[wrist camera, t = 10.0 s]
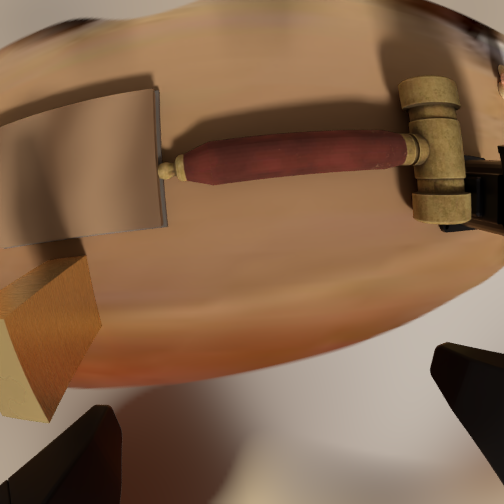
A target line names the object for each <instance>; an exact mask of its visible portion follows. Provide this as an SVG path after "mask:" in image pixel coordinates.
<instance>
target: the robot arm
mask: <svg viewBox="0 0 504 504" xmlns="http://www.w3.org/2000/svg"><path fill="white" fill-rule="evenodd" d="M498 152H499V153H500V158H501V161H495V160H485V159H484V158H480V157H474V156H467V155H464V161H465V173H466V178H464V188H465V192H468V193H471V219H470V220H469V221H468V222H465V223H461V224H440V229H441V231H443V232H456V231H466V230H475V229H479V230H483V231H487V232H491V233H495V234H499V235H502V236H504V145H499V146H498ZM445 225H446V227H445ZM430 373H431V376H432V377H433V379H434V381H435V382H436V384H437V385H438V387H439V389H440V391H441V392H442V394H443V396H444V397H445V399H446V401H447V402H448V404H449V406H450V408H451V409H452V411H453V412H454V414H455V415H456V416H457V418H458V419H459V421H460V422H461V423H462V425H463V426H464V428H465V429H466V430H467V431H468V433H469V434H470V436H471V437H472V439H473V440H474V442H475V443H476V445H477V446H478V447H479V449H480V450H481V452H482V453H483V455H484V456H485V458H486V459H487V461H488V462H489V464H490V465H491V467H492V468H493V470H494V471H495V473H496V474H497V476H498V477H499V479H500V480H501V482H502V483H503V485H504V354H502V353H497V352H492V351H487V350H482V349H477V348H473V347H468V346H463V345H459V344H454V343H450V342H446V343H443V344H441V345H438V346H437V347H436V349H435V351H434V356H433V360H432V363H431V368H430ZM121 486H122V430H121V427H120V425H119V423H118V420H117V418H116V416H115V414H114V411H113V409H112V407H111V406H109V405H94V406H93V407H92V408H91V409H89V410H88V411H87V412H86V413H85V414H84V415H82V416H81V417H80V418H79V419H78V420H77V421H76V422H74V423H73V424H72V425H71V426H70V427H68V428H67V429H66V430H65V431H64V432H63V433H62V434H60V435H59V436H58V437H57V438H56V439H54V440H53V441H52V442H51V443H50V444H49V445H47V446H46V447H45V448H44V449H43V450H42V451H40V452H39V453H38V454H37V455H36V456H34V457H33V458H32V459H31V460H30V461H28V462H27V463H26V464H25V465H24V466H23V467H21V468H20V469H19V470H18V471H17V472H15V473H14V474H13V475H12V476H11V477H10V478H8V480H6V481H4V482H3V483H2V484H1V485H0V504H120V497H121Z"/></svg>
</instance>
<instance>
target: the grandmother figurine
mask: <svg viewBox="0 0 504 504" xmlns="http://www.w3.org/2000/svg"><path fill="white" fill-rule="evenodd" d="M498 71H499V74H500V76H501V82H499V83H498V89H499V93H500V95H501V96H502V98H504V66H503V65H499V66H498Z"/></svg>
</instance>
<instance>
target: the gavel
mask: <svg viewBox="0 0 504 504" xmlns="http://www.w3.org/2000/svg"><path fill="white" fill-rule="evenodd" d="M398 91H399V96H400V101H401V107H402V110H403V111H404V112H408V113H409V117H410V123H409V130H410V134H398V133H393V132H389V131H384V130H337V131H312V132H296V133H282V134H271V135H260V136H250V137H242V138H233V139H225V140H218V141H211V142H207V143H205V144H203V145H201V146H199V147H197V148H195V149H193V150H191V151H189V152H187V153H185V154H182V155H178V156H177V157H176V159H175V162H174V163H169V162H164V163H161V164H160V165H159V166H158V175H159V177H160V178H161V179H169V178H171V177H172V176H177V178H178V179H179V180H180V181H193V182H199V183H204V184H210V185H218V184H226V183H233V182H241V181H249V180H257V179H265V178H274V177H284V176H294V175H304V174H315V173H327V172H341V171H356V170H374V169H387V168H391V167H395V166H399V165H414V173H415V178H416V179H417V184H418V192H413V193H412V201H413V218H414V219H416V220H417V221H419V222H423V223H429V224H461V223H465V222H468V221H469V220H470V219H471V193H468V192H465V188H464V178H466V173H465V161H464V152H463V143H462V136H461V129H460V122H459V121H458V120H457V117H456V110H458V109H460V108H461V106H460V100H459V96H458V91H457V86H456V83H455V82H454V81H453V80H451V79H449V78H447V77H443V76H434V75H426V76H417V77H412V78H409V79H406V80H404V81H402V82H401V83H400V84H399V85H398Z"/></svg>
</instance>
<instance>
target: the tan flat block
mask: <svg viewBox="0 0 504 504" xmlns="http://www.w3.org/2000/svg"><path fill="white" fill-rule="evenodd" d="M161 163H162V148H161V129H160V98H159V90H156V91H154V90H153V88H152V89H145V90H138V91H132V92H126V93H120V94H115V95H110V96H105V97H100V98H95V99H91V100H87V101H82V102H78V103H74V104H70V105H66V106H63V107H59V108H55V109H52V110H48V111H45V112H42V113H39V114H35V115H32V116H29V117H26V118H23V119H20V120H17V121H15V122H12V123H9V124H6V125H4V126H1V127H0V248H4V249H6V248H12V247H18V246H25V245H31V244H38V243H45V242H51V241H58V240H65V239H73V238H80V237H88V236H95V235H103V234H111V233H119V232H127V231H136V230H144V229H153V228H162V227H168V222H167V212H166V202H165V191H164V179H161V178H160V177H159V175H158V166H159V165H160V164H161Z"/></svg>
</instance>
